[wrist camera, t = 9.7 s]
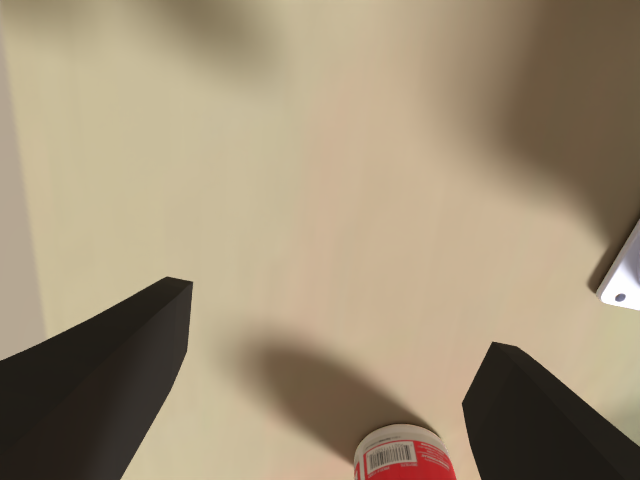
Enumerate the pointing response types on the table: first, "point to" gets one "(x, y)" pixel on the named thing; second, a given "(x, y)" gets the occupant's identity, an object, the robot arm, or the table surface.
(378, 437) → the pill bottle
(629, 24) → the table surface
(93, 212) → the table surface
